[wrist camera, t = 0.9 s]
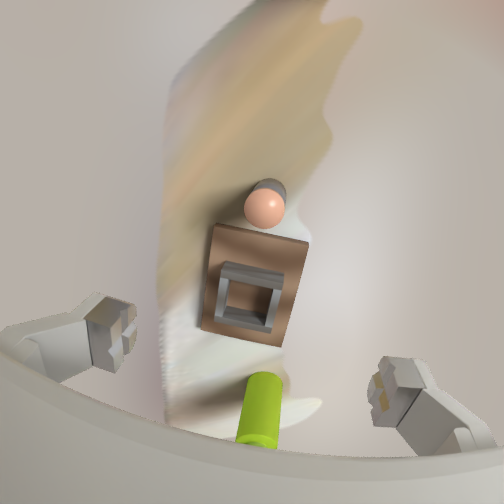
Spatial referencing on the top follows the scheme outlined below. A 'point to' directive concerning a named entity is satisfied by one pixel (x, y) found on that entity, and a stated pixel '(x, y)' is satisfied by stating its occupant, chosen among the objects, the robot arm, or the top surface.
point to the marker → (266, 204)
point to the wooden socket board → (251, 284)
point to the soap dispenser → (261, 411)
